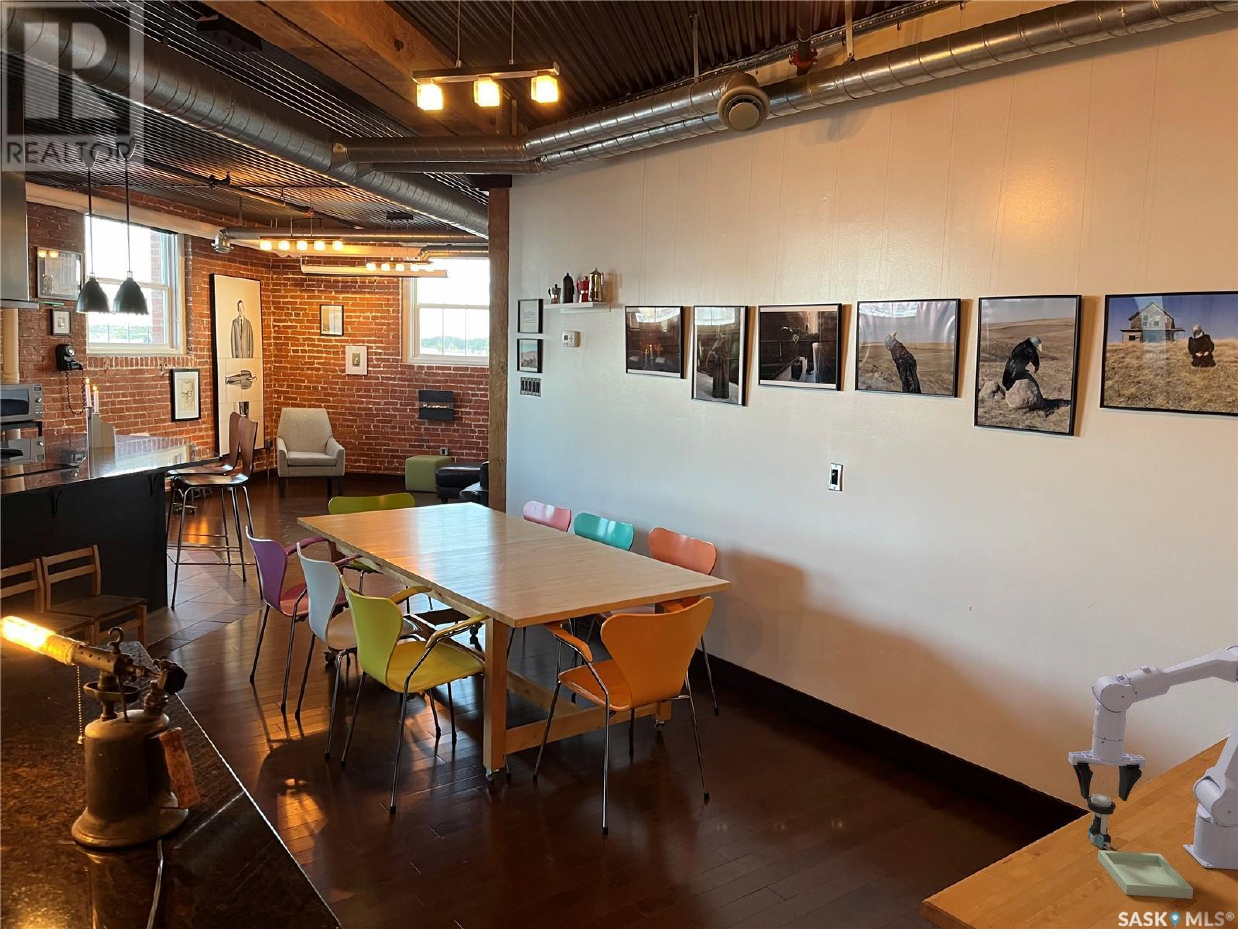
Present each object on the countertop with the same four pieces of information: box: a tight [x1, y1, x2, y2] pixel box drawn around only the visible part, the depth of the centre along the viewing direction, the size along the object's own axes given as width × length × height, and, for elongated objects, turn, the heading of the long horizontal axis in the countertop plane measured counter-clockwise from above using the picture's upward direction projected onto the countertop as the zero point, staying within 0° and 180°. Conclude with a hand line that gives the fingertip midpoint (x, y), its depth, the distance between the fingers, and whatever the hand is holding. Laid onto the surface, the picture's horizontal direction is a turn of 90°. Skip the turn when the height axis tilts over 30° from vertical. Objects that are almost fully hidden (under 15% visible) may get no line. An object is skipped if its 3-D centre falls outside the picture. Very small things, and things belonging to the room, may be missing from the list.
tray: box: [1097, 849, 1194, 900], centre depth 174 cm, size 12×12×2 cm
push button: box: [1086, 793, 1117, 851], centre depth 185 cm, size 7×5×10 cm
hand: (1103, 798), depth 185 cm, fingers open, 7 cm apart
